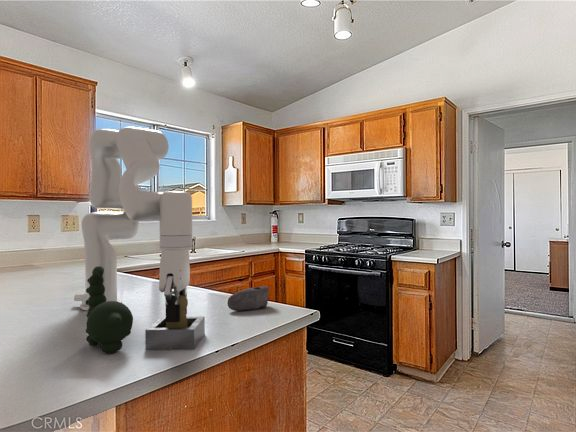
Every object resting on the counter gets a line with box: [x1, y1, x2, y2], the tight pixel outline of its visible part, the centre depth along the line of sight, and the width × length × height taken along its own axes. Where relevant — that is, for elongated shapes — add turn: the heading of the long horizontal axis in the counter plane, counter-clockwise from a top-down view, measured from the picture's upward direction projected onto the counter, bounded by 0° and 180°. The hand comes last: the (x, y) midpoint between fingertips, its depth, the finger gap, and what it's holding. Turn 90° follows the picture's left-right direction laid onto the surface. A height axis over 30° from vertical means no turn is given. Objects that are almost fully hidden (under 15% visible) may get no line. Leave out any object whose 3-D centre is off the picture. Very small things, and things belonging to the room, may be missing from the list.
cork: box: [166, 294, 189, 328], centre depth 92 cm, size 6×6×11 cm
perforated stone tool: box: [227, 285, 270, 312], centre depth 123 cm, size 15×5×7 cm, turn 118°
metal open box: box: [144, 316, 206, 351], centre depth 92 cm, size 11×11×4 cm
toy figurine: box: [85, 266, 134, 355], centre depth 90 cm, size 9×19×25 cm
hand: (176, 317), depth 92 cm, fingers closed on cork, 5 cm apart
